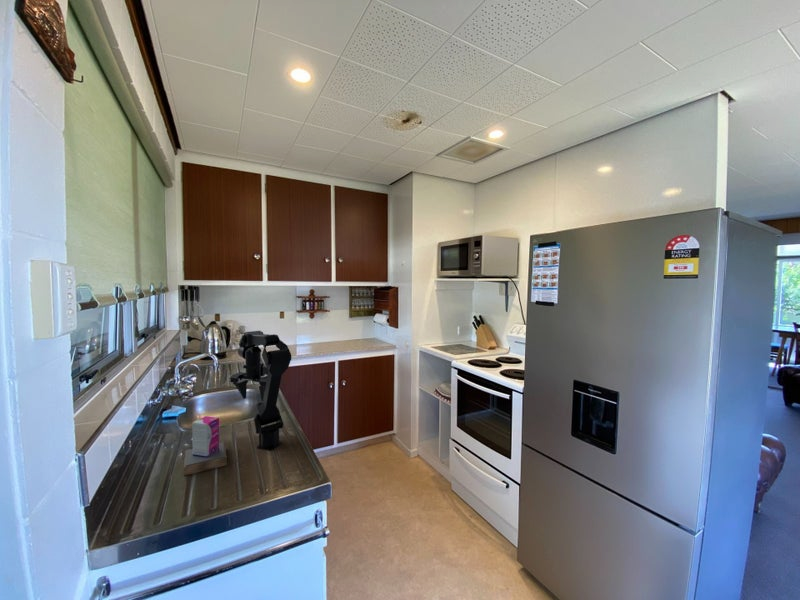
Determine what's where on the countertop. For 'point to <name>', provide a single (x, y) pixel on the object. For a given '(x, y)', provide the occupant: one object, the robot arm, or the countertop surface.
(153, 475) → the countertop surface
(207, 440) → the supplement box
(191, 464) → the walnut base
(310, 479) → the countertop surface
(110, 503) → the countertop surface
